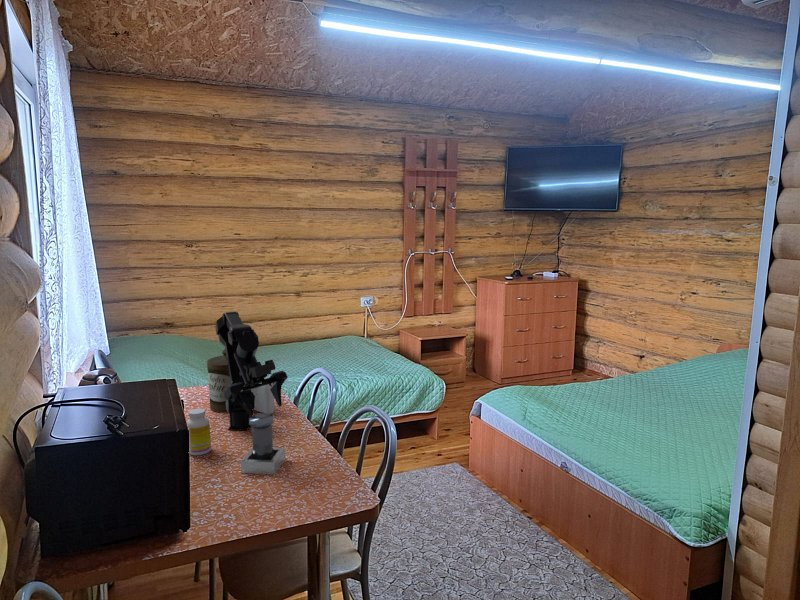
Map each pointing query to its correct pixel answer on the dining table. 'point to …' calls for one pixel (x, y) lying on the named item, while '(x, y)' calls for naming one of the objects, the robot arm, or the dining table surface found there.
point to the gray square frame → (263, 463)
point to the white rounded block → (264, 399)
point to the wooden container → (218, 382)
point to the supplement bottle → (199, 432)
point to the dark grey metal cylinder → (262, 436)
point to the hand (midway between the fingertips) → (266, 410)
